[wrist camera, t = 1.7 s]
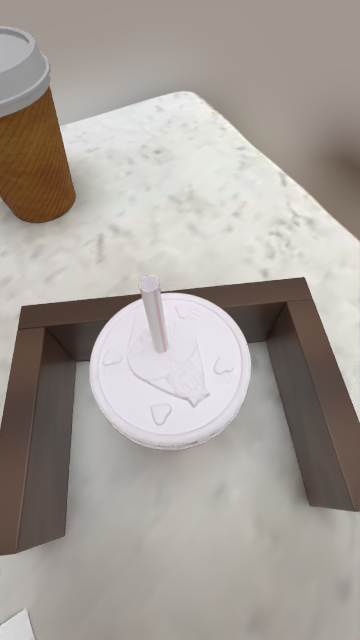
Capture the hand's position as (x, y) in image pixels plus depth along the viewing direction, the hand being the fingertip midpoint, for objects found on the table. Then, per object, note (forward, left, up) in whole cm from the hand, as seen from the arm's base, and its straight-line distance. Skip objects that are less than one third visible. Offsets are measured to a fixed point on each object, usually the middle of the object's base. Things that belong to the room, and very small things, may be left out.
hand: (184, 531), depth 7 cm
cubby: (+5, +1, -12) cm, 13 cm away
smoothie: (+5, +1, -12) cm, 13 cm away
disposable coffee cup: (+25, +17, -12) cm, 32 cm away
